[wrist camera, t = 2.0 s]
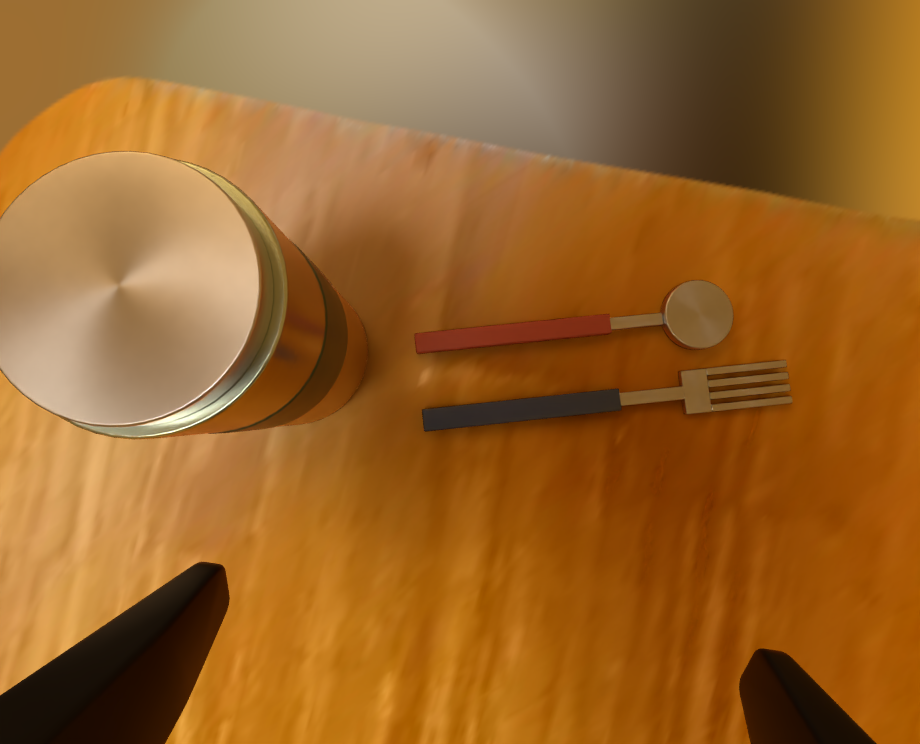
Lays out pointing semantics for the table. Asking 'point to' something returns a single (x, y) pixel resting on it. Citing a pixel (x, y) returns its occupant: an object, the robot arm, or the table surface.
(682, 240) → the table surface
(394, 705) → the table surface
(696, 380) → the fork
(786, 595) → the table surface
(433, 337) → the spoon
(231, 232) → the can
